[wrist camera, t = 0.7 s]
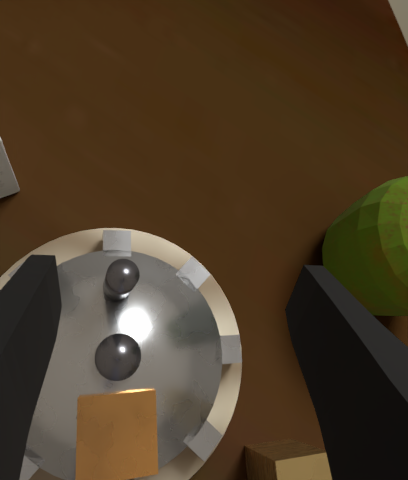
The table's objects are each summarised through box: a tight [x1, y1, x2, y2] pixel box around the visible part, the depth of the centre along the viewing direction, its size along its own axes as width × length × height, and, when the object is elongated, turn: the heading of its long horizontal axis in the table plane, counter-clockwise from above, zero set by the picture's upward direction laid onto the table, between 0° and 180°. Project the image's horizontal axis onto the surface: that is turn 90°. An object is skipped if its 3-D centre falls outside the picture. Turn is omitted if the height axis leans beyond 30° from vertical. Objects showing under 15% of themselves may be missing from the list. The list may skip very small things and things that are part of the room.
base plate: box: [0, 228, 242, 480], centre depth 27 cm, size 20×20×1 cm
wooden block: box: [244, 439, 332, 480], centre depth 26 cm, size 4×3×5 cm
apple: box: [322, 176, 408, 316], centre depth 32 cm, size 11×11×11 cm
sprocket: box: [8, 230, 242, 480], centre depth 24 cm, size 18×18×6 cm
